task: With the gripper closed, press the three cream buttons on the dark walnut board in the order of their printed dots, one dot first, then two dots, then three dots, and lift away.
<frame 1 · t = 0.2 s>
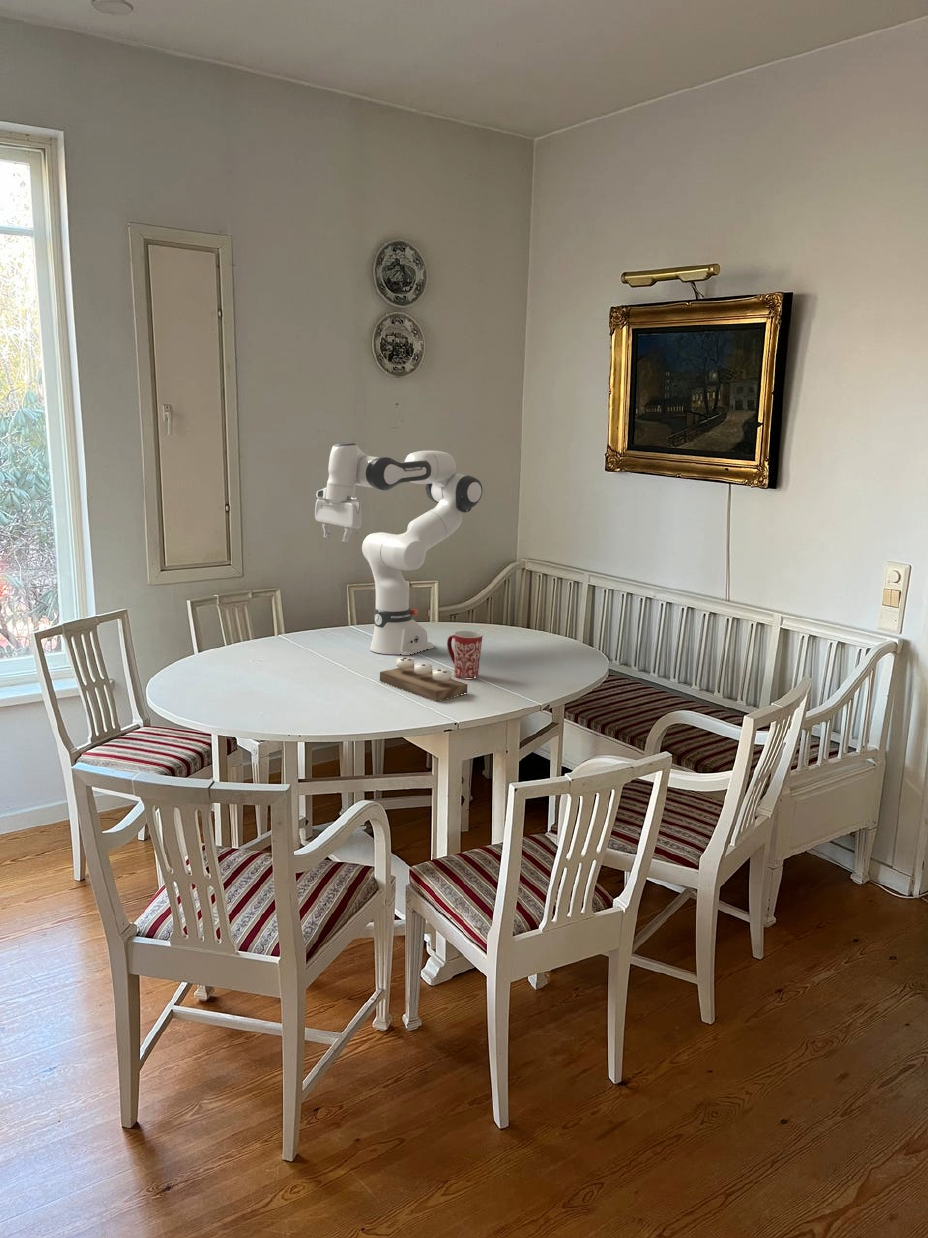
hand: (336, 539, 293), 39 cm above the table, tool pointing down, fingers open, 8 cm apart
button three: (405, 662, 280), point 6 cm above the table, slide at 0.0 cm
button board: (422, 687, 275), on the table
mug: (462, 675, 290), on the table
button two: (441, 674, 268), point 6 cm above the table, slide at 0.0 cm
button one: (423, 668, 274), point 6 cm above the table, slide at 0.0 cm
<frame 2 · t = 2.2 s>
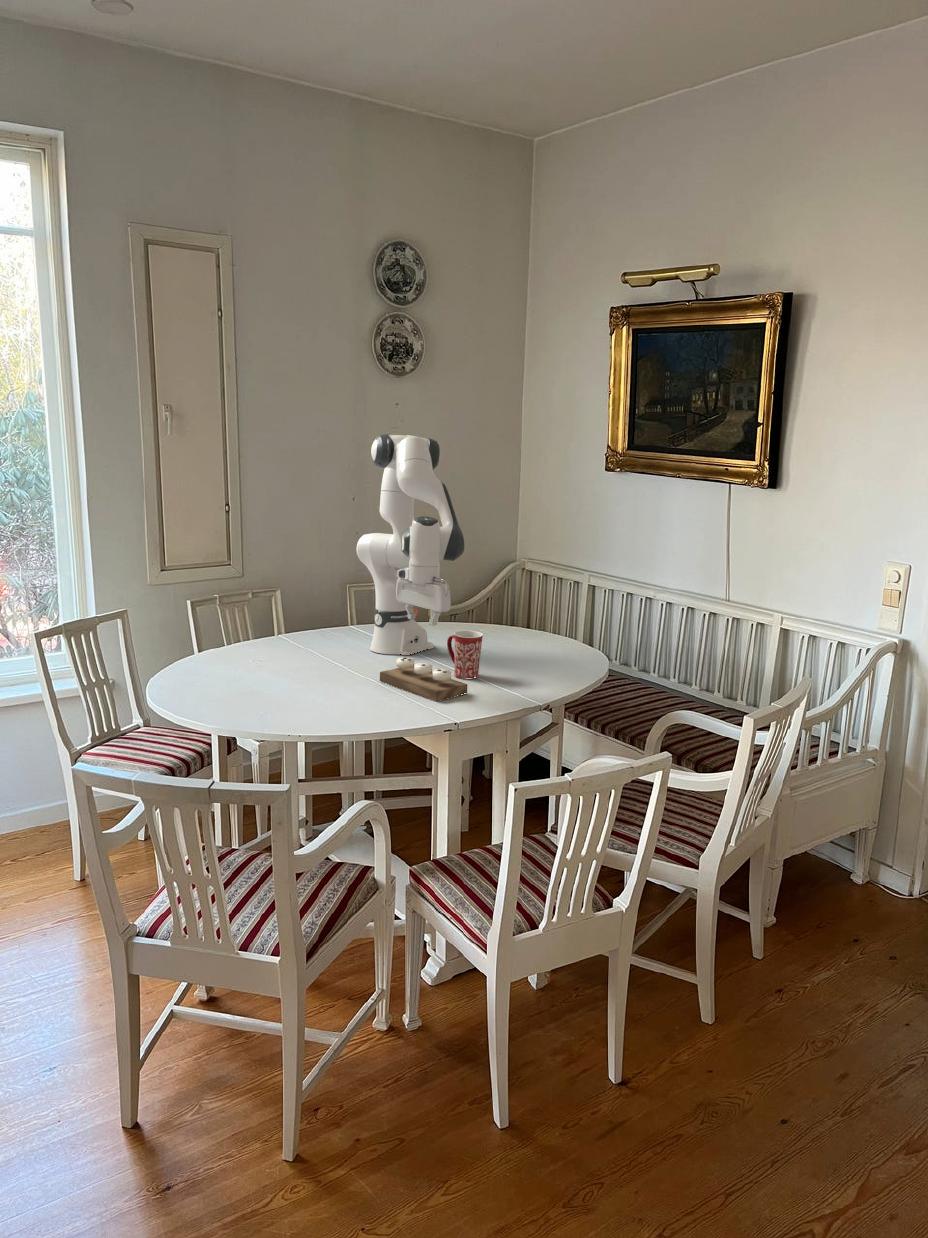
hand: (422, 622, 271), 20 cm above the table, tool pointing down, fingers open, 8 cm apart
nothing on the table moved.
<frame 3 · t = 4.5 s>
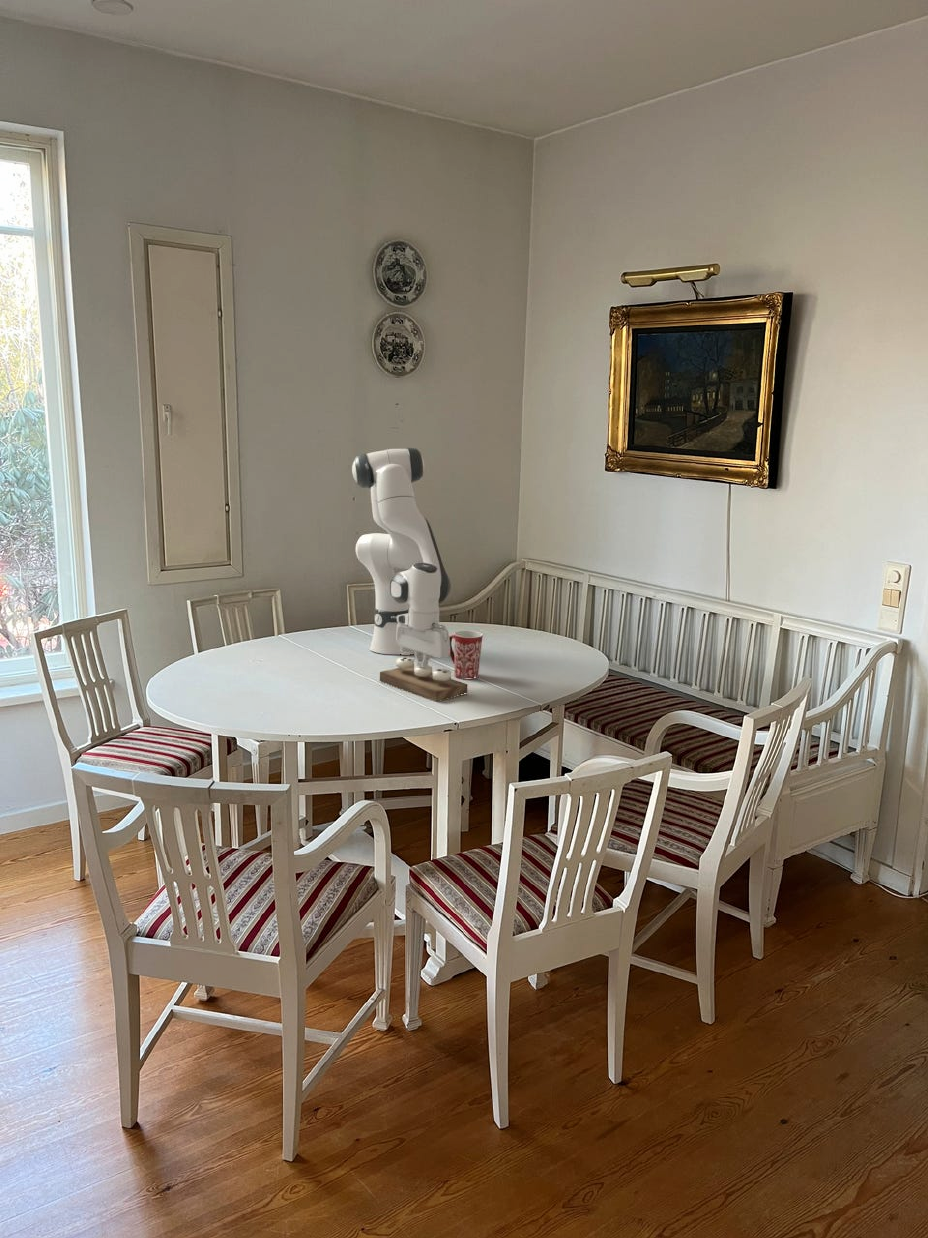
hand: (422, 666, 274), 6 cm above the table, tool pointing down, fingers closed, pressing on button one
button one: (423, 670, 274), point 5 cm above the table, slide at 0.6 cm, touching gripper
everything else where it was.
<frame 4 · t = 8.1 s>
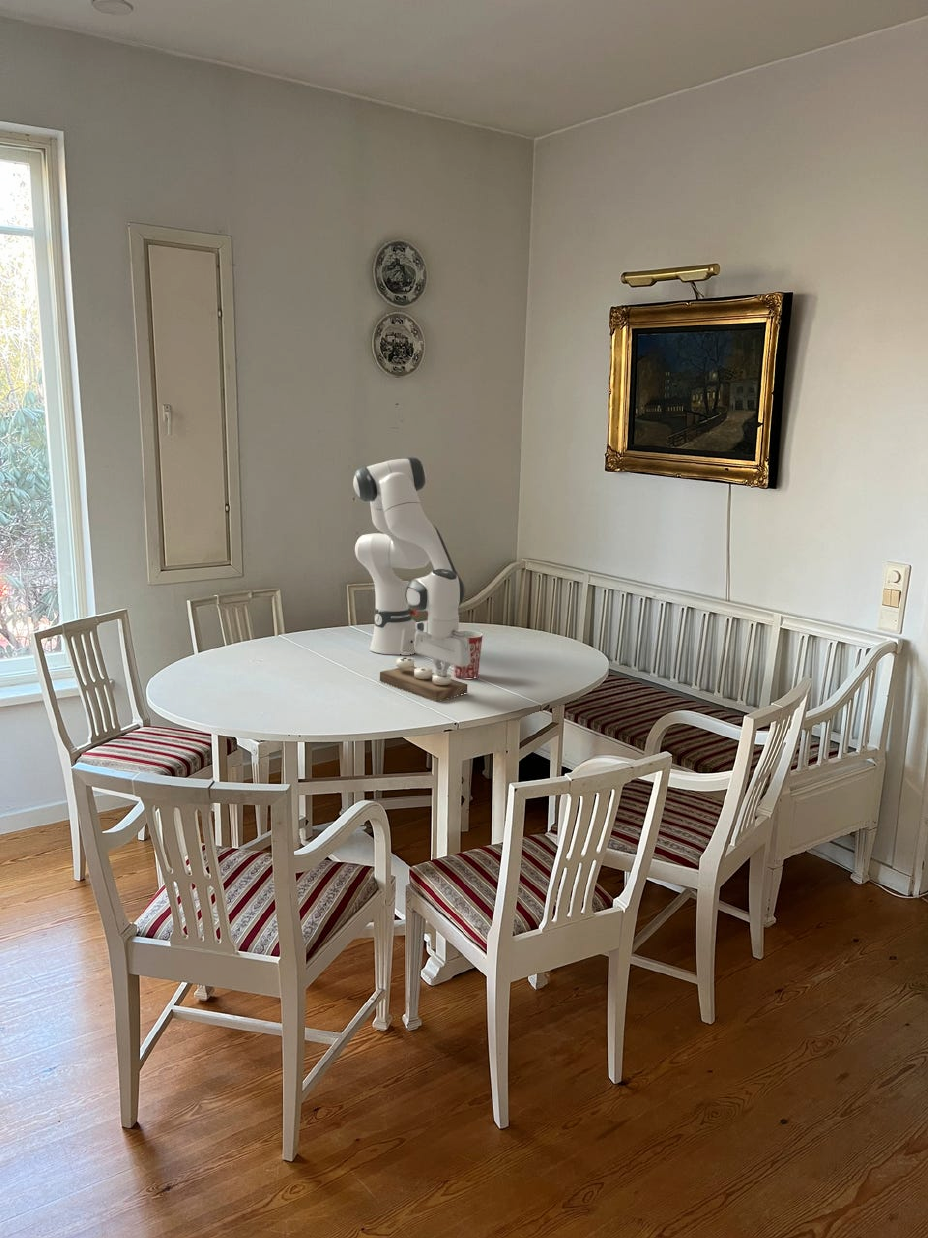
hand: (441, 674, 268), 6 cm above the table, tool pointing down, fingers closed, pressing on button two
button two: (441, 678, 269), point 5 cm above the table, slide at 1.3 cm, touching gripper
button one: (423, 673, 274), point 4 cm above the table, slide at 1.4 cm
everything else where it was.
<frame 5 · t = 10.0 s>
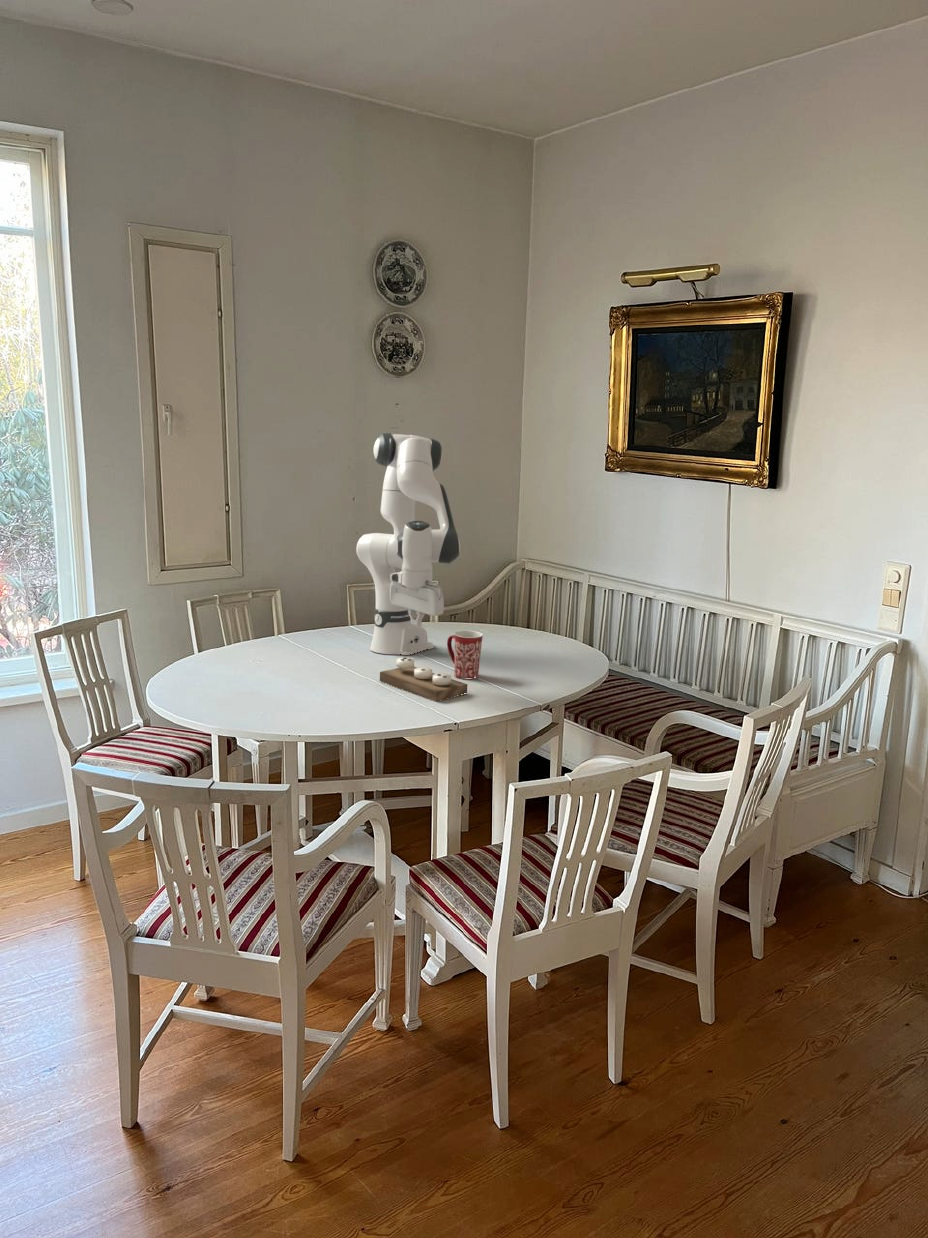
hand: (416, 624, 275), 18 cm above the table, tool pointing down, fingers closed
button two: (441, 679, 269), point 5 cm above the table, slide at 1.4 cm
everything else where it was.
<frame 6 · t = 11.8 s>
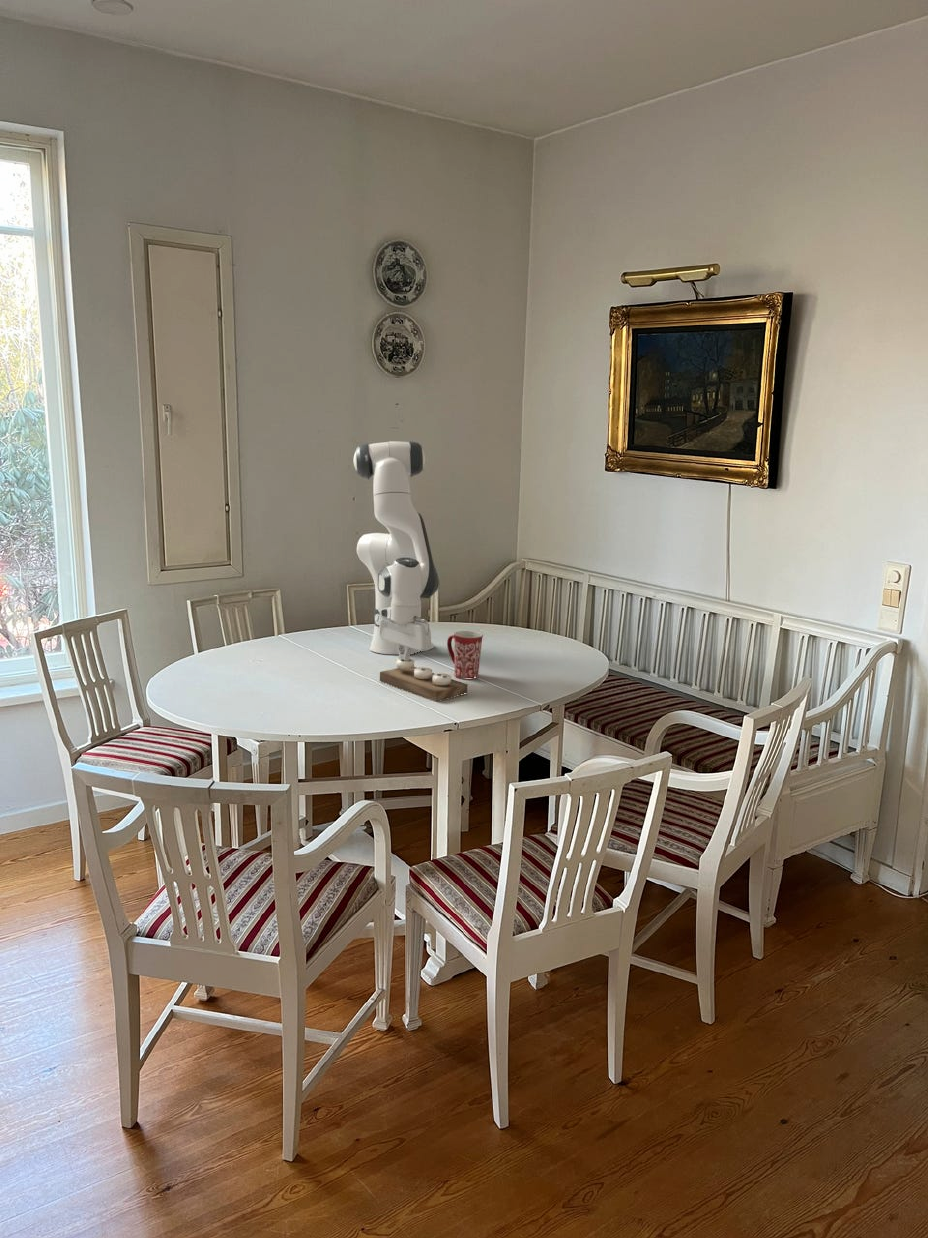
hand: (404, 659, 279), 7 cm above the table, tool pointing down, fingers closed, pressing on button three
button three: (405, 663, 280), point 6 cm above the table, slide at 0.2 cm, touching gripper
everything else where it was.
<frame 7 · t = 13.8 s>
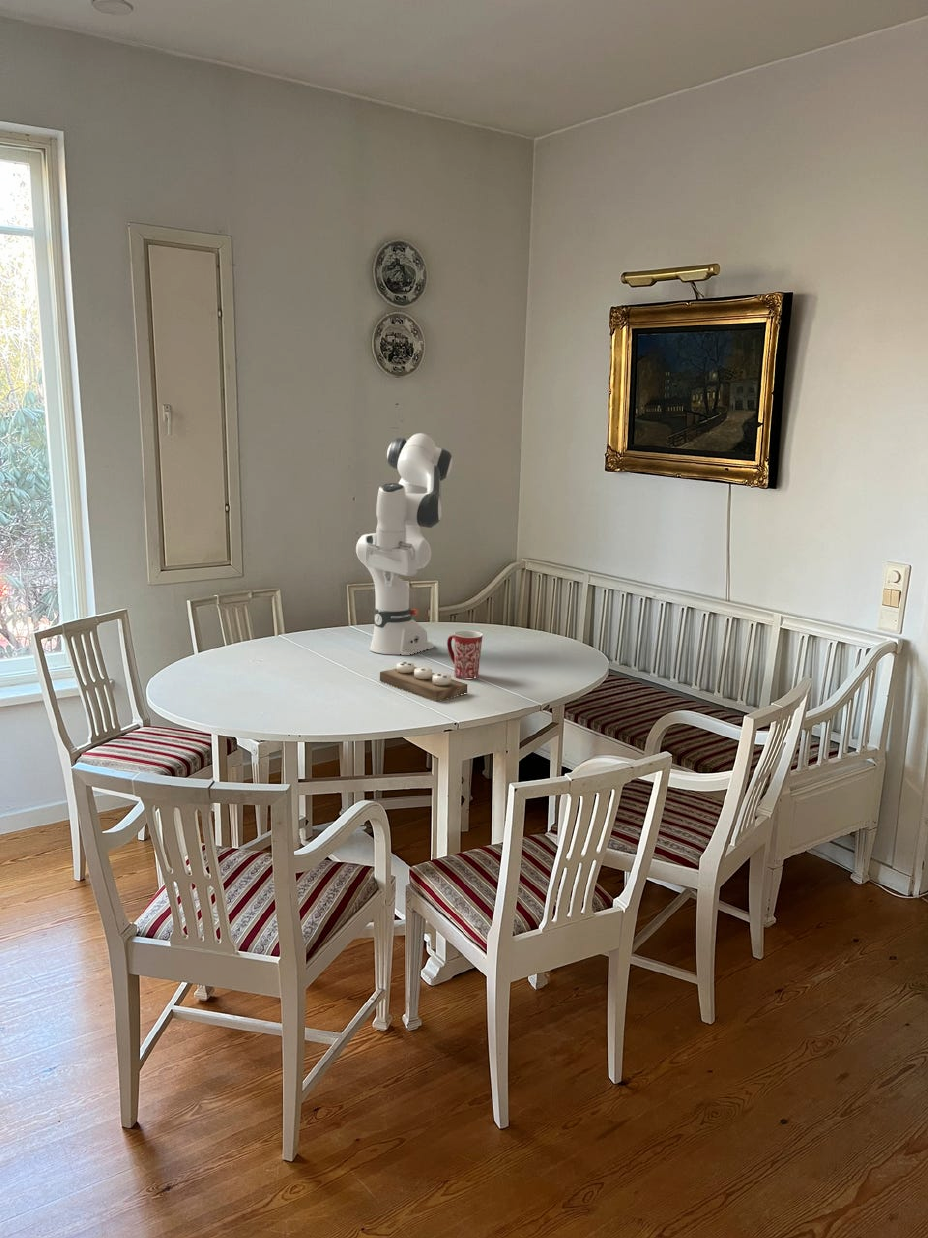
hand: (390, 586, 279), 28 cm above the table, tool pointing down, fingers closed
button three: (405, 667, 280), point 4 cm above the table, slide at 1.4 cm
everything else where it was.
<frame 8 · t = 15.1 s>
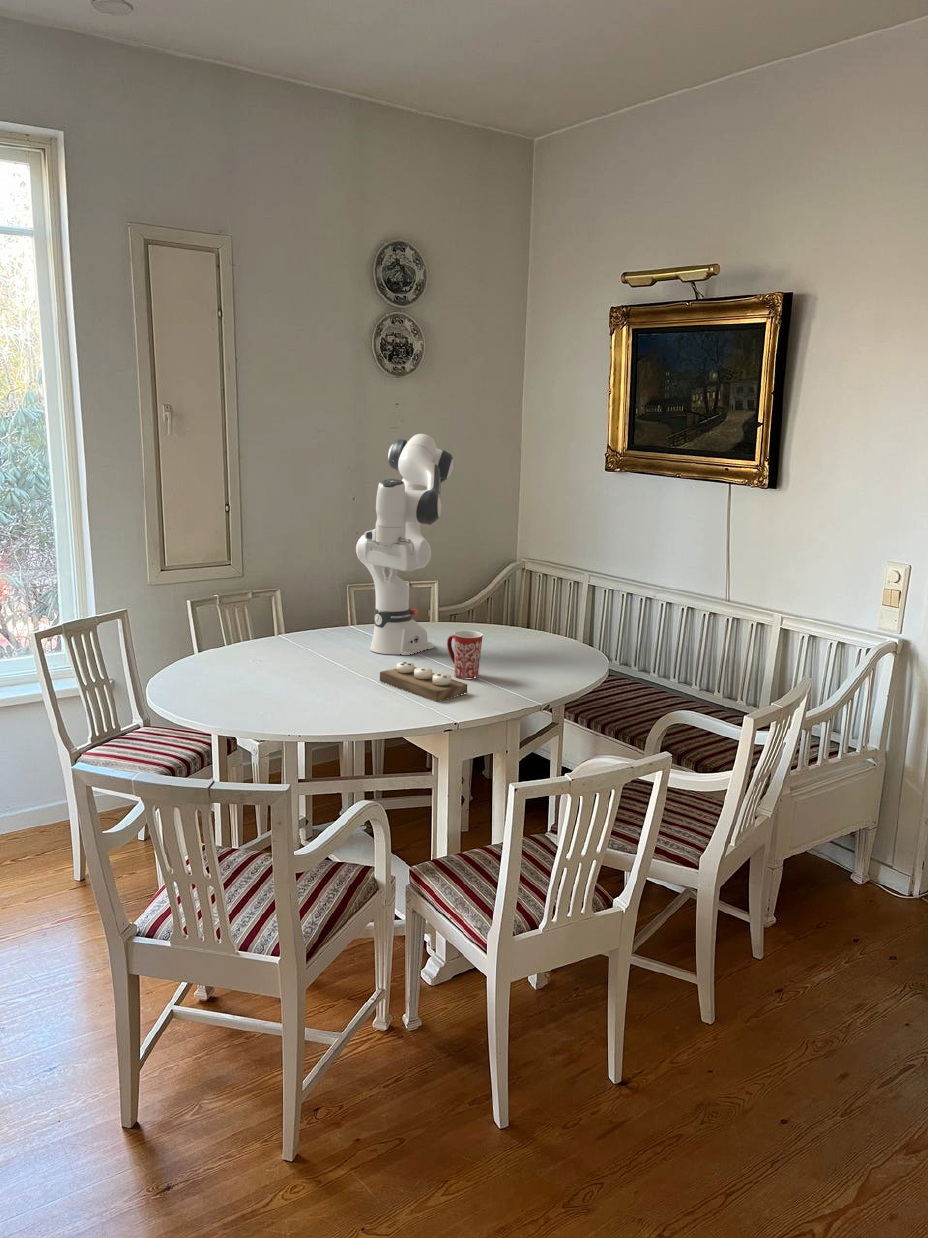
hand: (389, 582, 279), 29 cm above the table, tool pointing down, fingers closed
nothing on the table moved.
at the end: button one slide at 1.4 cm; button two slide at 1.4 cm; button three slide at 1.4 cm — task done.
